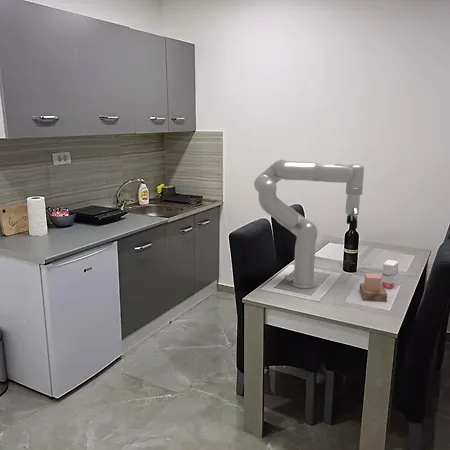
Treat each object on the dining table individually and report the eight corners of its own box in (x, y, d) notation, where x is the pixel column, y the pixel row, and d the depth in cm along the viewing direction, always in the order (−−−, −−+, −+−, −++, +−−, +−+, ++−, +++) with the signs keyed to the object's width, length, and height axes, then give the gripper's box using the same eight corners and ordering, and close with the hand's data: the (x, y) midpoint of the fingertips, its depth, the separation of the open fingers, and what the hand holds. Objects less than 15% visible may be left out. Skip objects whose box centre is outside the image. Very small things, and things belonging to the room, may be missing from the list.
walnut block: (363, 301, 197) (363, 292, 196) (359, 291, 208) (360, 283, 207) (386, 302, 195) (387, 294, 194) (381, 292, 207) (382, 284, 206)
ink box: (391, 289, 209) (393, 265, 206) (380, 287, 212) (382, 263, 209) (397, 284, 216) (399, 261, 213) (386, 281, 219) (389, 259, 216)
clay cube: (366, 290, 198) (367, 277, 197) (364, 285, 204) (364, 273, 203) (380, 291, 198) (381, 278, 196) (377, 286, 204) (378, 273, 202)
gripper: (343, 187, 217) (341, 221, 221) (348, 193, 200) (346, 230, 204) (359, 188, 216) (356, 222, 220) (365, 194, 199) (363, 230, 204)
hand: (351, 226), depth 212 cm, fingers open, 9 cm apart
